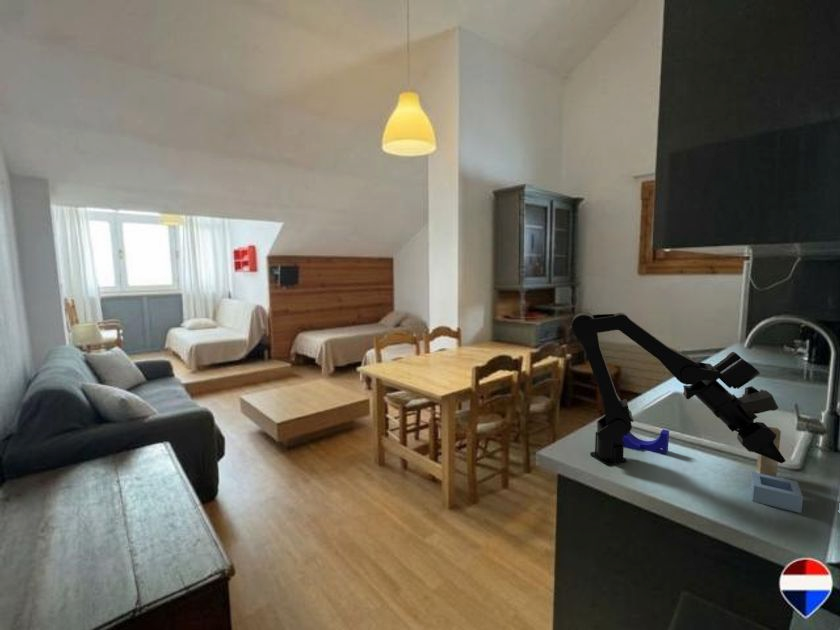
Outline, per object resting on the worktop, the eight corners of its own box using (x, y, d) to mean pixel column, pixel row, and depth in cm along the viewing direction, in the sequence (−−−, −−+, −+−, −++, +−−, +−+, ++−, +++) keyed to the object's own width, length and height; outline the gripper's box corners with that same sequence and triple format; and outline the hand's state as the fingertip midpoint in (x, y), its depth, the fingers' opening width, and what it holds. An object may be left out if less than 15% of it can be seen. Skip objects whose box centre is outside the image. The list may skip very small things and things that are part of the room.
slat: (759, 483, 92) (764, 429, 91) (755, 479, 94) (760, 426, 92) (775, 485, 91) (780, 431, 89) (771, 481, 93) (777, 427, 91)
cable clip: (615, 445, 113) (616, 425, 112) (620, 439, 117) (621, 420, 116) (664, 457, 105) (665, 436, 105) (667, 451, 109) (669, 430, 108)
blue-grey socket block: (752, 501, 86) (754, 485, 85) (750, 486, 91) (751, 471, 91) (801, 513, 81) (803, 497, 81) (795, 496, 87) (797, 481, 86)
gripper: (767, 391, 83) (832, 450, 80) (737, 369, 100) (790, 417, 97) (718, 423, 87) (779, 480, 84) (697, 396, 104) (747, 443, 101)
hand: (774, 452), depth 91 cm, fingers open, 9 cm apart
